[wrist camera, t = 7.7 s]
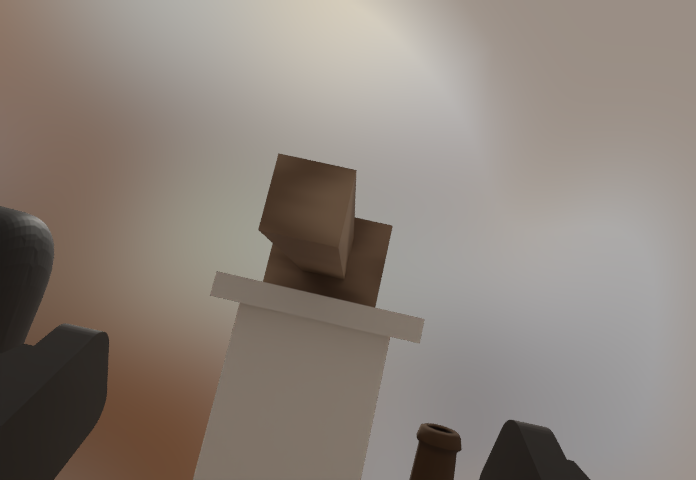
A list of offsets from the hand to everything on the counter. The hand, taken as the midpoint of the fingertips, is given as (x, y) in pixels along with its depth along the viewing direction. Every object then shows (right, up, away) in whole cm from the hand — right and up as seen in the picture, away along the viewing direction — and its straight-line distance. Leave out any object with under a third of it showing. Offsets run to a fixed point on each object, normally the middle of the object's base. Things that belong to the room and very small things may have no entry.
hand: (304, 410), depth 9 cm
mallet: (-1, 0, +18) cm, 18 cm away
